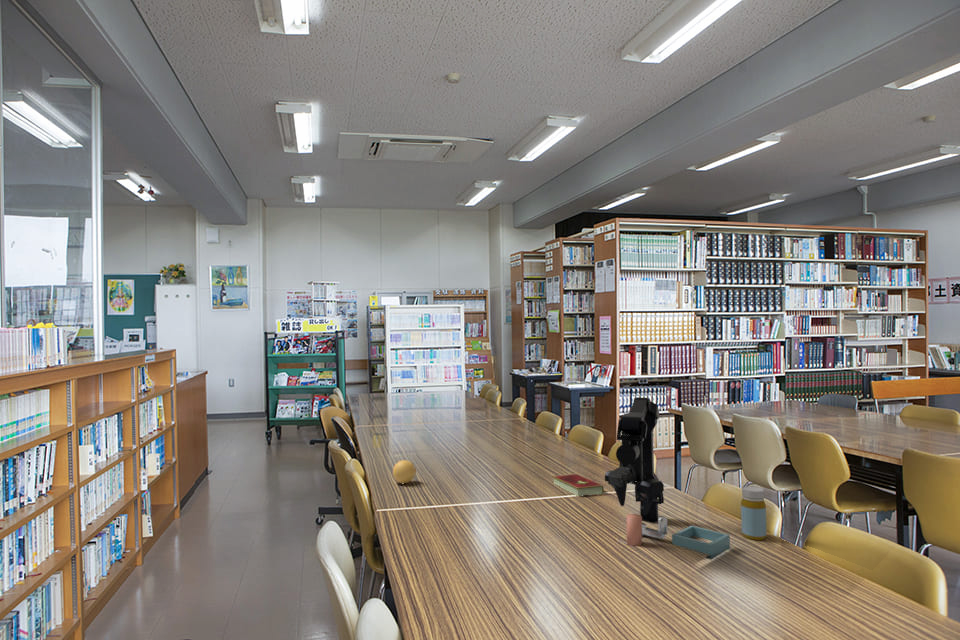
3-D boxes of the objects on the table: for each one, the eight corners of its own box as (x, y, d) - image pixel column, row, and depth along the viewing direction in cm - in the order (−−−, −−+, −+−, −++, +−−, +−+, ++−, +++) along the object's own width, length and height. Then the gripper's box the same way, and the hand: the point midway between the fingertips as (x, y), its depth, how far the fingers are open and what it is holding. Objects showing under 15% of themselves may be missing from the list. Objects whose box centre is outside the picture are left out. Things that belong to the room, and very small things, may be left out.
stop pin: (631, 539, 176) (632, 513, 176) (644, 543, 173) (644, 516, 173) (623, 542, 173) (623, 516, 173) (636, 546, 170) (636, 519, 170)
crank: (630, 534, 180) (630, 511, 180) (637, 530, 183) (637, 508, 183) (663, 543, 172) (663, 519, 172) (670, 539, 174) (669, 516, 175)
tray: (691, 538, 180) (691, 525, 180) (729, 548, 171) (729, 534, 171) (672, 548, 172) (672, 534, 172) (711, 559, 163) (710, 545, 163)
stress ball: (403, 489, 245) (420, 472, 248) (388, 472, 246) (405, 455, 248) (402, 487, 255) (419, 471, 257) (387, 470, 255) (404, 454, 258)
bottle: (752, 541, 176) (751, 492, 177) (736, 534, 183) (735, 487, 183) (771, 539, 178) (770, 490, 178) (755, 532, 185) (754, 485, 185)
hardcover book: (576, 482, 251) (576, 473, 251) (603, 495, 231) (603, 484, 231) (552, 485, 247) (552, 475, 247) (577, 498, 227) (577, 487, 227)
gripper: (591, 455, 177) (592, 506, 177) (638, 467, 161) (639, 523, 161) (617, 451, 183) (618, 500, 183) (664, 462, 167) (665, 515, 167)
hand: (633, 509), depth 173 cm, fingers open, 9 cm apart
